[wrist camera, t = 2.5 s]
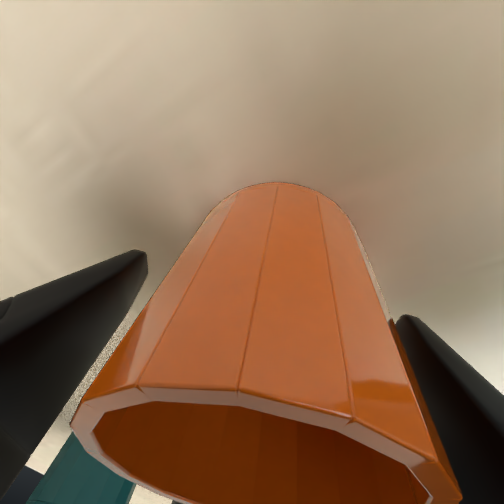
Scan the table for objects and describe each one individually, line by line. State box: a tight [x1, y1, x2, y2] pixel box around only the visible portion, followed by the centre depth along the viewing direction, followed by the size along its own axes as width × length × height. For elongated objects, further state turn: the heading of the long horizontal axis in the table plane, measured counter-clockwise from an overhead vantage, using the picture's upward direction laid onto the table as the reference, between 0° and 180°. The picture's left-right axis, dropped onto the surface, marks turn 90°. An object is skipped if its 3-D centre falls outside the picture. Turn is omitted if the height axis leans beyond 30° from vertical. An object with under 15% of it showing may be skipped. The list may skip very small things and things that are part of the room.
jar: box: [26, 432, 136, 504], centre depth 23 cm, size 8×8×7 cm
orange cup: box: [70, 182, 462, 504], centre depth 7 cm, size 6×6×7 cm
